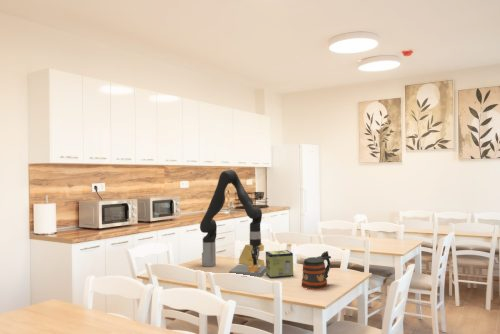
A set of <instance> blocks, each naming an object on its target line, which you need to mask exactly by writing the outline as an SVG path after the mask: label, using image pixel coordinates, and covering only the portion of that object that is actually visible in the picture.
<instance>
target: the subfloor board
mask: <svg viewBox="0 0 500 334" xmlns="http://www.w3.org/2000/svg"><path fill="white" fill-rule="evenodd" d="M248 266H249V265H245V264H237V265H235V266H234V267H233V268H231V269H230V270H229V272H228V274H229V273H236V274H243V275H250V276H257V277H256V278H261V277H262V276H264V274H266V265H264V266H260V265H258V266H259V270H258V271H257V272H250V271H248Z"/></svg>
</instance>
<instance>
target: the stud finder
mask: <svg viewBox="0 0 500 334" xmlns="http://www.w3.org/2000/svg"><path fill="white" fill-rule="evenodd" d="M258 270H259V266H255V265H249V266H248V271H250V272H257V271H258Z"/></svg>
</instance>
